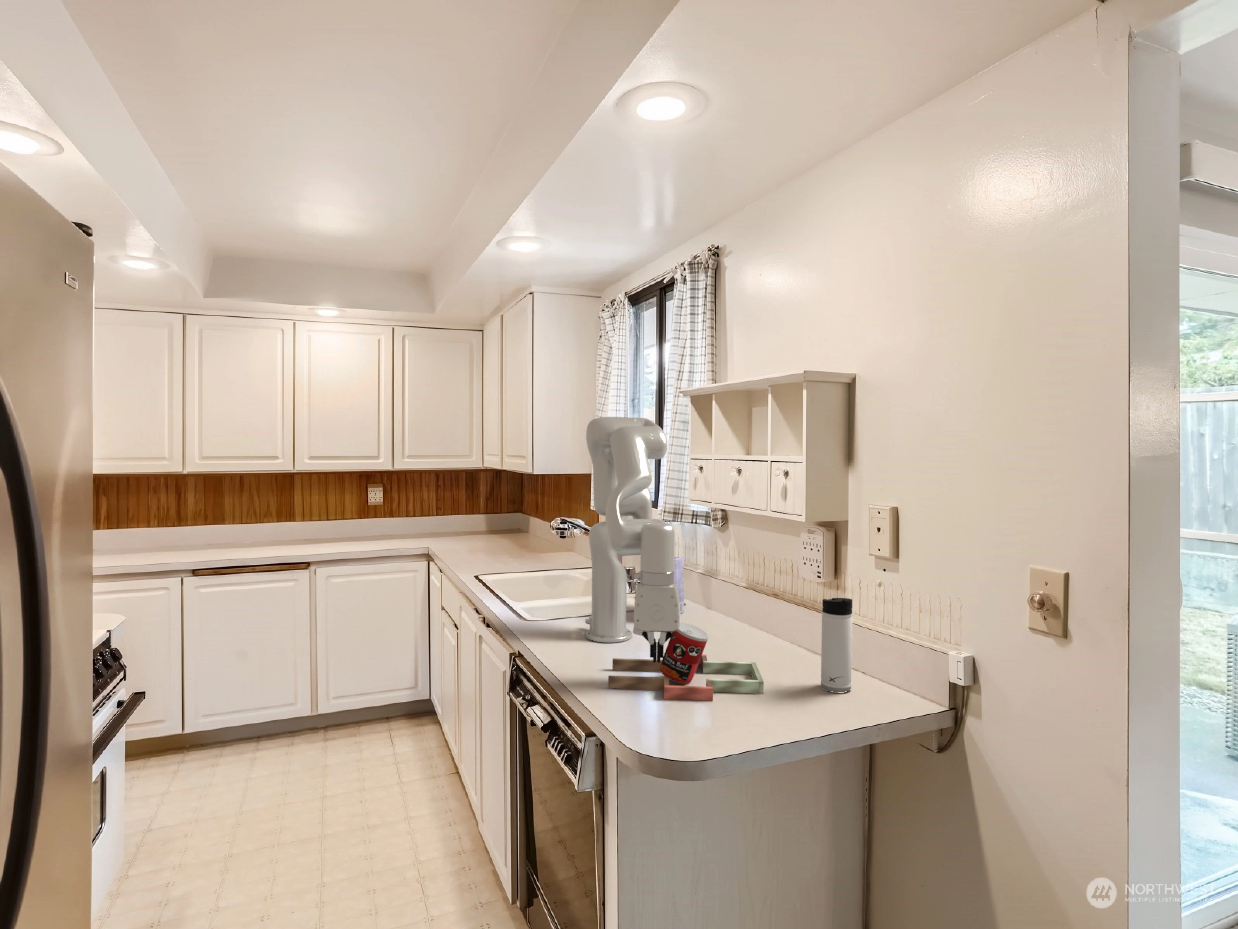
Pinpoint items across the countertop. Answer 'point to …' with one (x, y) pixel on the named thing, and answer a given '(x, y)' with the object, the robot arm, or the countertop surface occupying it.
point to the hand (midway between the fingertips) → (656, 660)
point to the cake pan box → (679, 579)
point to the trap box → (688, 691)
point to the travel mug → (836, 644)
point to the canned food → (683, 653)
